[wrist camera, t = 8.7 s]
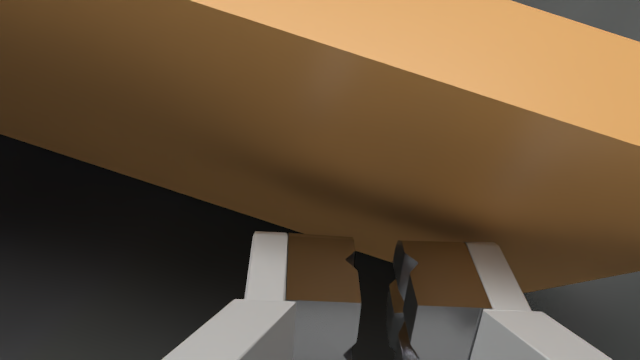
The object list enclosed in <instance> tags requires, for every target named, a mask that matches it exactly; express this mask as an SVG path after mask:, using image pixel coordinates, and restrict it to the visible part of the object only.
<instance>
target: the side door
mask: <svg viewBox="0 0 640 360" xmlns="http://www.w3.org/2000/svg"><path fill="white" fill-rule="evenodd" d="M0 134H2V135H5V136H8V137H11V138H14V139H17V140H20V141H23V142H26V143H29V144H32V145H35V146H38V147H41V148H44V149H47V150H50V151H53V152H56V153H60V154H63V155H66V156H69V157H72V158H75V159H78V160H81V161H84V162H87V163H90V164H93V165H96V166H99V167H102V168H105V169H108V170H111V171H114V172H117V173H121V174H124V175H127V176H130V177H133V178H136V179H139V180H142V181H145V182H148V183H151V184H154V185H157V186H160V187H163V188H166V189H169V190H172V191H175V192H178V193H181V194H185V195H188V196H191V197H194V198H197V199H200V200H203V201H206V202H209V203H212V204H215V205H218V206H221V207H224V208H227V209H230V210H233V211H236V212H239V213H242V214H246V215H249V216H252V217H255V218H258V219H261V220H264V221H267V222H270V223H273V224H276V225H279V226H282V227H285V228H288V229H291V230H294V231H297V232H300V233H303V234H313V235H328V236H343V237H353V239H354V245H355V251H358V252H361V253H364V254H367V255H371V256H374V257H377V258H380V259H383V260H386V261H389V262H392V263H393V258H394V252H395V247H396V244H397V241H398V240H408V241H442V242H495V243H496V244H498V245H499V247H500V249H501V250H502V252H503V254H504V256H505V258H506V260H507V262H508V264H509V266H510V268H511V270H512V272H513V274H514V276H515V278H516V280H517V282H518V284H519V286H520V288H521V290H522V292H523V293H527V292H533V291H538V290H543V289H548V288H553V287H559V286H564V285H569V284H574V283H580V282H585V281H590V280H595V279H600V278H606V277H611V276H616V275H621V274H626V273H632V272H637V271H640V42H638V41H635V40H632V39H629V38H626V37H622V36H619V35H616V34H613V33H610V32H607V31H604V30H601V29H598V28H595V27H591V26H588V25H585V24H582V23H579V22H576V21H573V20H570V19H567V18H564V17H560V16H557V15H554V14H551V13H548V12H545V11H542V10H539V9H536V8H533V7H529V6H526V5H523V4H520V3H517V2H514V1H511V0H0Z"/></svg>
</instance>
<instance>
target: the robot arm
mask: <svg viewBox="0 0 640 360" xmlns="http://www.w3.org/2000/svg"><path fill="white" fill-rule="evenodd" d="M287 243H288V248H287ZM354 258H355V245H354V239H353V237H343V236H328V235H313V234H298V233H289V234H288V235H287V233H286V232H262V231H255V233H254V235H253V238H252V246H251V253H250V260H249V268H248V275H247V283H246V290H245V297H244V299H234V300H233V301H231V302H230V303H229V304H228V305H227V306H225V307H224V308H223V309H222V310H221V311H219V312H218V313H217V314H216V315H214V316H213V317H212V318H211V319H210V320H208V321H207V322H206V323H205V324H204V325H202V326H201V327H200V328H199V329H198V330H196V331H195V332H194V333H193V334H192V335H190V336H189V337H188V338H187V339H186V340H184V341H183V342H182V343H181V344H180V345H178V346H177V347H176V348H175V349H174V350H172V351H171V352H170V353H169V354H168V355H166V356H165V357H164V358H163V359H162V360H352V348H351V347H352V346H353V345H354V344H355V343H356V342H357V335H358V327H359V319H360V311H361V294H360V285H359V277H358V270H356V269H355V268H354ZM393 266H394V271H395V276H396V279H395V280H394V281H393V282H392V283H391V284H390V285H389V289H388V296H387V306H386V327H387V337H388V343H389V346H390V347H391V348H392V349H393V350H394V351H395V356H394V360H612V359H611V358H609V357H608V356H607V355H605V354H604V353H602V352H601V351H599V350H598V349H596V348H595V347H593V346H592V345H590V344H589V343H587V342H586V341H584V340H583V339H582V338H580V337H579V336H577V335H576V334H574V333H573V332H571V331H570V330H568V329H567V328H565V327H564V326H562V325H561V324H559V323H558V322H557V321H555V320H554V319H552V318H551V317H549V316H548V315H546V314H545V313H543V312H539V311H532V310H531V308H530V306H529V304H528V302H527V300H526V298H525V296H524V294H523V292H522V290H521V288H520V286H519V284H518V282H517V280H516V278H515V276H514V274H513V272H512V270H511V268H510V266H509V264H508V262H507V260H506V258H505V256H504V254H503V252H502V250H501V249H500V247H499V245H498V244H496V243H495V242H442V241H408V240H398V241H397V244H396V247H395V252H394V258H393Z"/></svg>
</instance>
